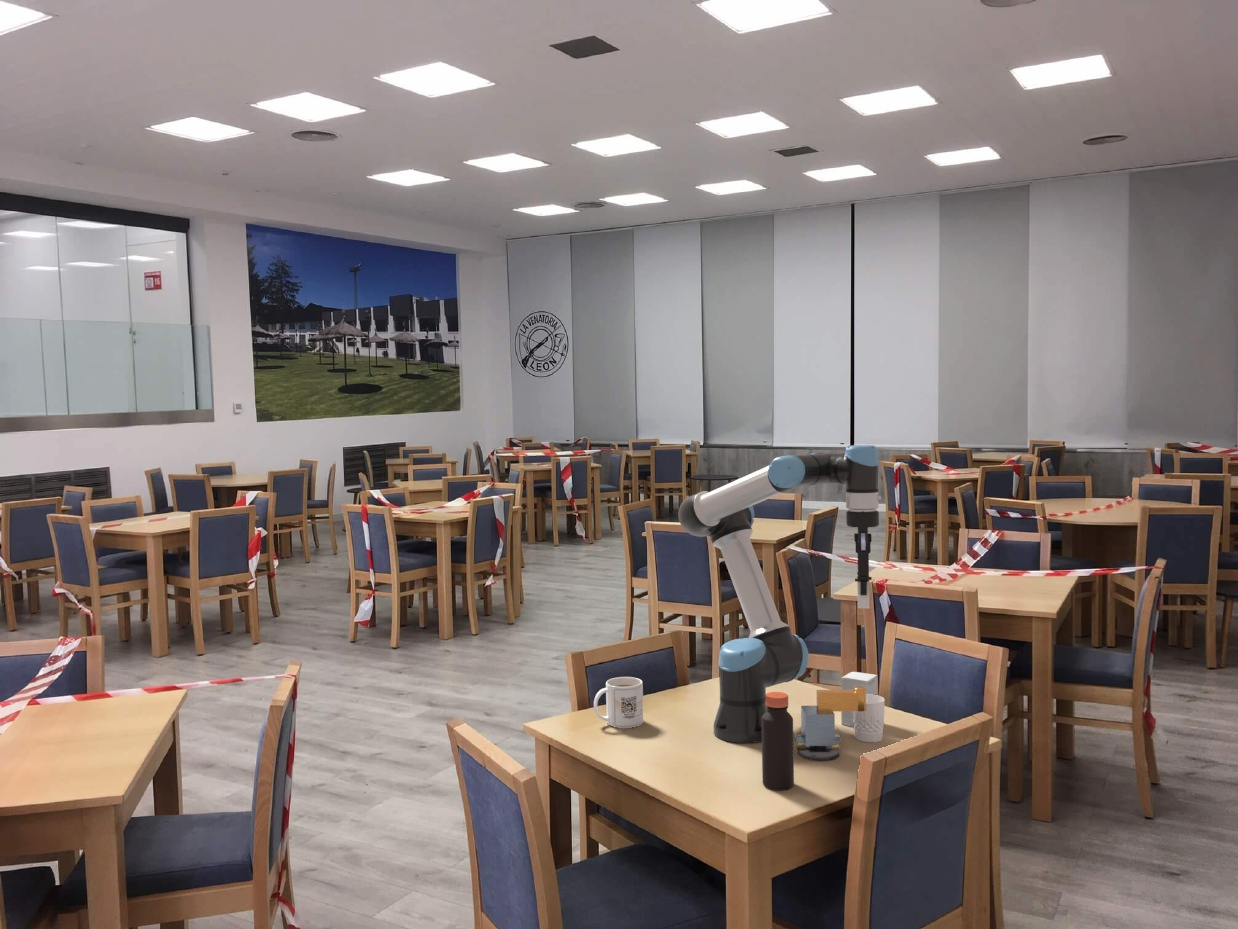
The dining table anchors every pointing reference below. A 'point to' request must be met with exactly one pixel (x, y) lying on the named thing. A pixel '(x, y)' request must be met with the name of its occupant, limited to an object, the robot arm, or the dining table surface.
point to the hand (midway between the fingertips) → (863, 607)
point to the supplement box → (848, 684)
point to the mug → (622, 702)
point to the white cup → (870, 720)
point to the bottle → (777, 743)
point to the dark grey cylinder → (818, 752)
